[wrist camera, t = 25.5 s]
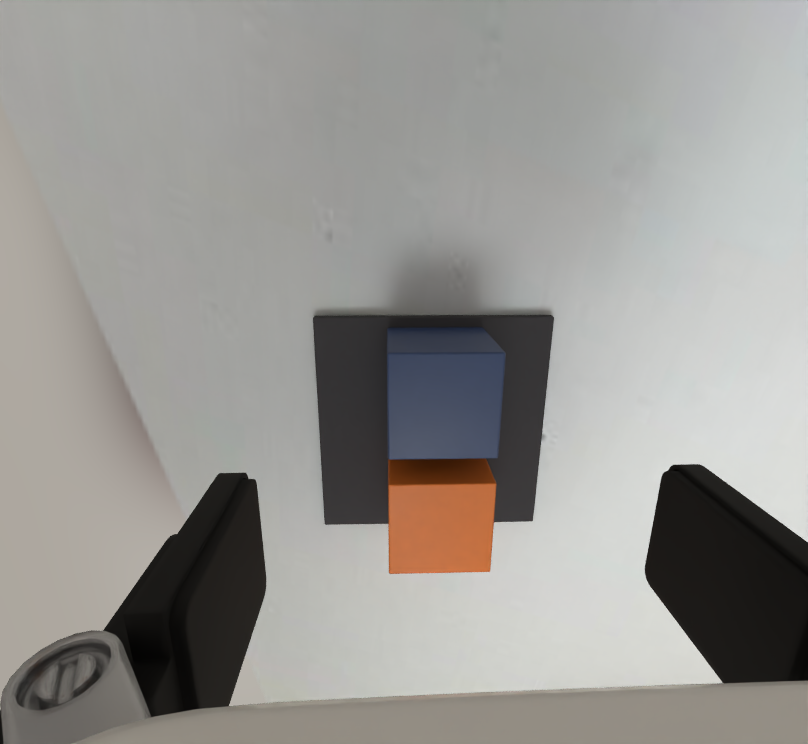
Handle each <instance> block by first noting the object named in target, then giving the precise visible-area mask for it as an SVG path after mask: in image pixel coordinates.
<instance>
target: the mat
mask: <svg viewBox="0 0 808 744" xmlns="http://www.w3.org/2000/svg"><path fill="white" fill-rule="evenodd" d="M553 321H554V317H553V316H551V315H423V316H314V317H313V326H314V343H315V360H316V378H317V395H318V413H319V430H320V448H321V465H322V483H323V500H324V518H325V524H326V525H328V524H389V517H388V424H387V329H388V328H433V327H482V328H484V329H485V331H486V332H487V333H488V334H489V335H490V336H491V337H492V338H493V340H494V341H495V342H496V343H497V344H498V345H499V346H500V347H501V348H502V350H503V351H504V352H505V354H506V357H505V370H504V384H503V398H502V411H501V425H500V439H499V452H498V458H486V460H487V462H488V465H489V467H490V469H491V472H492V474H493V477H494V479H495V481H496V498H495V511H494V522H517V521H533V513H534V504H535V494H536V484H537V475H538V465H539V456H540V446H541V436H542V427H543V417H544V408H545V398H546V388H547V379H548V369H549V360H550V350H551V340H552V331H553Z"/></svg>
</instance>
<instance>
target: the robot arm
mask: <svg viewBox="0 0 808 744" xmlns="http://www.w3.org/2000/svg"><path fill="white" fill-rule="evenodd" d="M645 575H646V579H647V581H648V583H649V585H650V586H651V588H652V589H653V590H654V592H655V593H656V594H657V596H658V597H659V598H660V600H661V601H662V602H663V604H664V605H665V606H666V608H667V609H668V610H669V612H670V613H671V614H672V616H673V617H674V618H675V620H676V621H677V622H678V624H679V625H680V626H681V628H682V629H683V630H684V632H685V633H686V634H687V636H688V637H689V638H690V640H691V641H692V642H693V644H694V645H695V646H696V648H697V649H698V650H699V652H700V653H701V654H702V656H703V657H704V658H705V660H706V661H707V662H708V663H709V665H710V666H711V667H712V669H713V670H714V671H715V673H716V674H717V675H718V677H719V678H720V679H721V681H722V682H723V683H720V684H690V685H659V686H632V687H606V688H580V689H555V690H530V691H505V692H481V693H459V694H437V695H415V696H393V697H371V698H349V699H329V700H310V701H290V702H274V703H262V704H250V705H239V706H229V704H230V701H231V697H232V694H233V691H234V688H235V685H236V682H237V679H238V676H239V673H240V670H241V666H242V664H243V661H244V657H245V654H246V651H247V648H248V645H249V642H250V639H251V636H252V633H253V630H254V627H255V624H256V621H257V618H258V614H259V611H260V608H261V605H262V602H263V599H264V596H265V591H266V571H265V561H264V551H263V541H262V531H261V521H260V511H259V501H258V491H257V483H256V480H255V479H248V476H247V474H246V473H219V474H218V475H217V477H216V478H215V480H214V481H213V482H212V484H211V485H210V487H209V488H208V490H207V491H206V493H205V494H204V496H203V497H202V499H201V500H200V502H199V503H198V505H197V506H196V507H195V509H194V510H193V512H192V513H191V515H190V516H189V518H188V519H187V521H186V522H185V524H184V525H183V527H182V528H181V530H180V531H179V532H178V534H174V535H172V536H170V537H169V538H168V539H167V541H166V542H165V543H164V545H163V546H162V548H161V549H160V550H159V552H158V553H157V555H156V556H155V557H154V559H153V560H152V562H151V563H150V565H149V566H148V568H147V569H146V570H145V572H144V573H143V575H142V576H141V577H140V579H139V580H138V582H137V583H136V585H135V586H134V587H133V589H132V590H131V592H130V593H129V595H128V596H127V597H126V599H125V600H124V602H123V603H122V605H121V606H120V607H119V609H118V611H117V612H116V613H115V615H114V616H113V617H112V619H111V620H110V622H109V623H108V625H107V626H106V627H105V629H104V630H103V631H87V632H82V633H77V634H73V635H71V636H68V637H66V638H63V639H60V640H58V641H56V642H54V643H52V644H51V645H49V646H47V647H45V648H43V649H42V650H40V651H39V652H37V653H36V654H35V655H33V656H32V657H31V658H30V659H28V660H27V661H26V662H24V663H23V664H22V666H21V667H20V668H19V669H18V670H17V671H16V672H15V673H14V674H13V675H12V676H11V678H10V679H9V681H8V683H7V685H6V686H5V688H4V690H3V692H2V698H1V704H0V707H1V710H0V744H808V542H806V541H805V540H804V539H802V538H801V537H799V536H798V535H797V534H795V533H794V532H793V531H791V530H790V529H788V528H787V527H786V526H784V525H783V524H782V523H780V522H779V521H778V520H776V519H775V518H773V517H772V516H771V515H769V514H768V513H767V512H765V511H764V510H763V509H761V508H760V507H758V506H757V505H756V504H754V503H753V502H752V501H750V500H749V499H748V498H746V497H745V496H743V495H742V494H741V493H739V492H738V491H737V490H735V489H734V488H733V487H731V486H730V485H728V484H727V483H726V482H724V481H723V480H722V479H720V478H719V477H718V476H716V475H715V474H713V473H712V472H711V471H709V470H708V469H707V468H705V467H704V466H702V465H698V464H692V465H673V466H671V467H670V468H669V470H668V471H666V472H664V473H663V475H662V478H661V483H660V489H659V494H658V500H657V505H656V510H655V516H654V521H653V527H652V532H651V537H650V543H649V548H648V554H647V559H646V564H645Z"/></svg>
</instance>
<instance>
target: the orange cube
mask: <svg viewBox="0 0 808 744" xmlns="http://www.w3.org/2000/svg"><path fill="white" fill-rule="evenodd" d="M495 498H496V481H495V479H494V477H493V474H492V472H491V469H490V467H489V465H488V462H487V460H486V459H403V460H389V459H388V517H389V573H390V574H400V573H451V572H489V571H490V566H491V552H492V539H493V525H494V511H495Z"/></svg>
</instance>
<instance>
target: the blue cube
mask: <svg viewBox="0 0 808 744" xmlns="http://www.w3.org/2000/svg"><path fill="white" fill-rule="evenodd" d="M505 357H506V354H505V352H504V351H503V350H502V348H501V347H500V346H499V345H498V344H497V343H496V342H495V341H494V340H493V338H492V337H491V336H490V335H489V334H488V333H487V332H486V331H485V329H484V328H482V327H433V328H388V329H387V424H388V459H389V460H403V459H486V458H498V452H499V439H500V425H501V411H502V398H503V384H504V370H505Z"/></svg>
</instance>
